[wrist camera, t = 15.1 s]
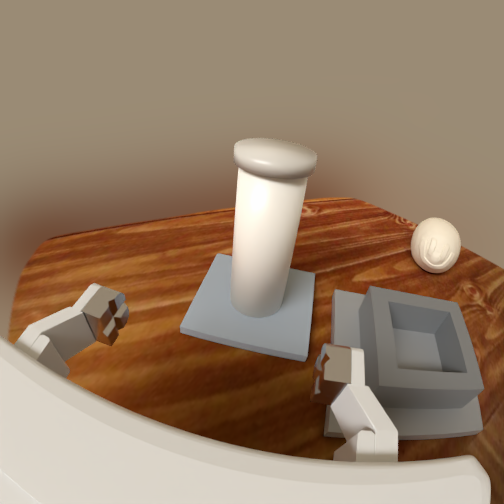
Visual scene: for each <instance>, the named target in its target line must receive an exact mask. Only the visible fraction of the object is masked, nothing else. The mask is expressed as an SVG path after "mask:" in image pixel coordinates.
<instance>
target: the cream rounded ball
mask: <svg viewBox="0 0 504 504" xmlns="http://www.w3.org/2000/svg"><path fill="white" fill-rule="evenodd" d="M460 248H461V241H460V237H459V234H458V232H457V230H456V229H455V227H454V226H453V225H452V224H450V223H449V222H448V221H446V220H443V219H441V218H428V219H426V220H424V221H423V222H421V223H420V224H419V225H418V226H417V228H416V229H415V231H414V233H413V236H412V240H411V253H412V256H413V258H414V260H415V262H416V263H417V264H418V265H419V266H420V267H421V268H422V269H424V270H426V271H428V272H431V273H442V272H445V271H447V270H448V269H450V268H451V267H452V266H453V265H454V264H455V262H456V260H457V259H458V256H459V253H460Z"/></svg>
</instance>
